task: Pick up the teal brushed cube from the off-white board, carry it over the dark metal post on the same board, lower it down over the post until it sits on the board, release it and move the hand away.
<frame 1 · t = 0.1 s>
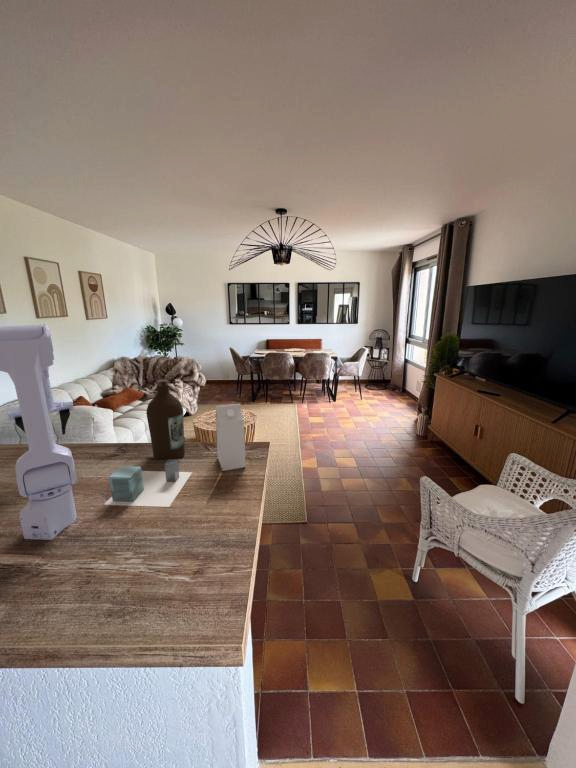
hand: (47, 435, 94), 11 cm above the breakfast bar, tool pointing down, fingers open, 7 cm apart
base board: (152, 491, 85), on the breakfast bar
olive oil: (169, 457, 105), on the breakfast bar
metal post: (173, 483, 89), resting on base board
milk carton: (231, 464, 99), on the breakfast bar
teal brushed cube: (128, 495, 81), point 1 cm above the breakfast bar, touching base board
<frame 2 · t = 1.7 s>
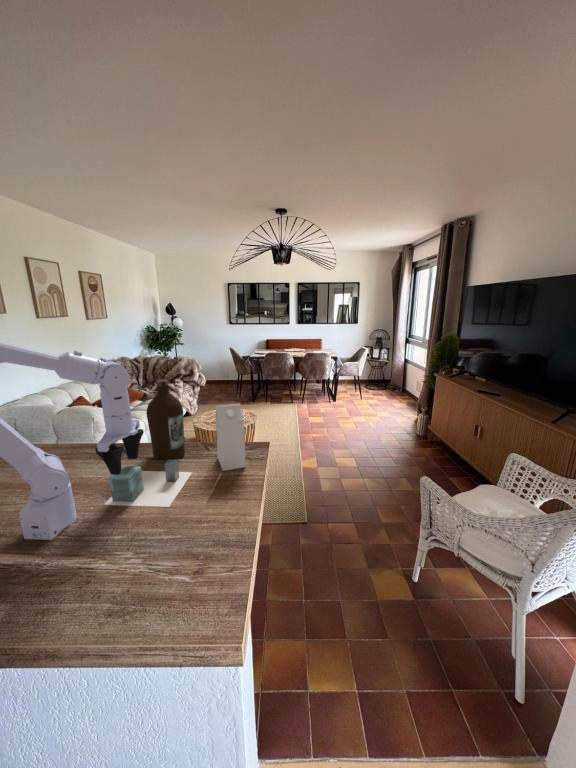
hand: (124, 465, 79), 9 cm above the breakfast bar, tool pointing down, fingers open, 7 cm apart
nothing on the breakfast bar moved.
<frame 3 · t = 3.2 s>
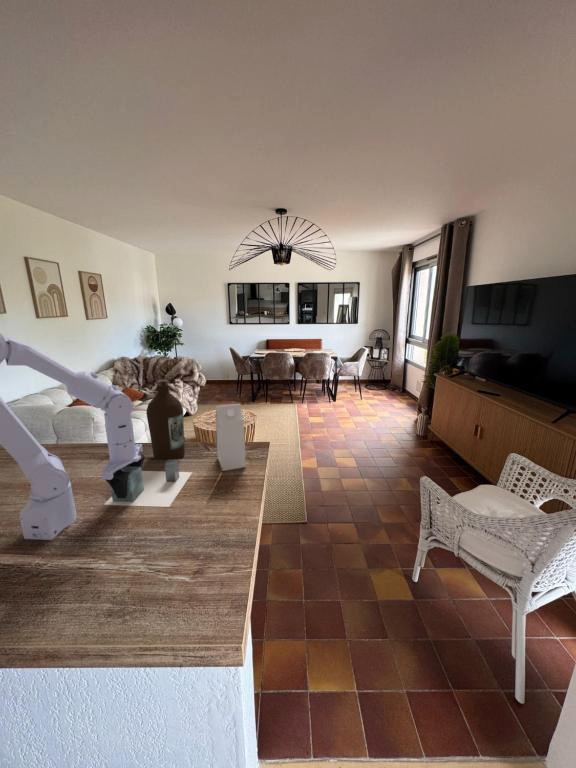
hand: (128, 490, 81), 3 cm above the breakfast bar, tool pointing down, fingers closed on teal brushed cube, 5 cm apart
teal brushed cube: (128, 495, 81), point 1 cm above the breakfast bar, touching base board, gripper
everything else where it was.
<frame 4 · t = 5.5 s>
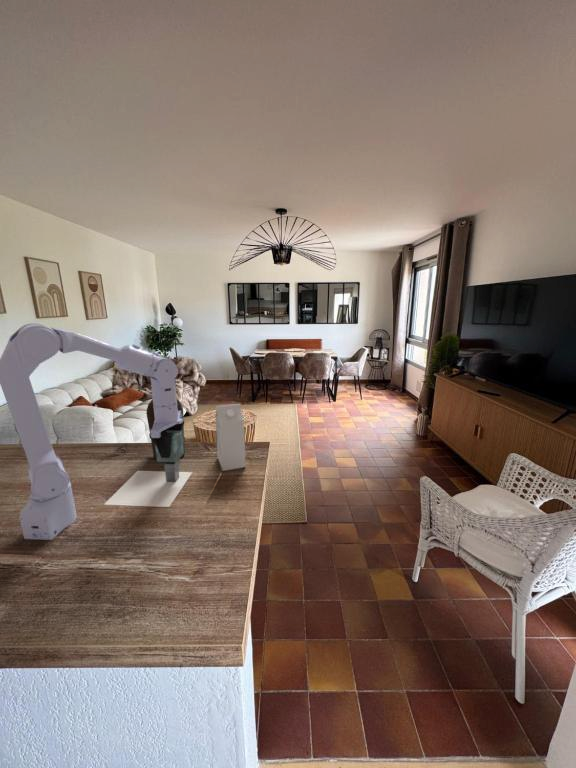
hand: (170, 452, 87), 9 cm above the breakfast bar, tool pointing down, fingers closed on teal brushed cube, 5 cm apart
teal brushed cube: (170, 457, 87), point 8 cm above the breakfast bar, touching gripper
everything else where it was.
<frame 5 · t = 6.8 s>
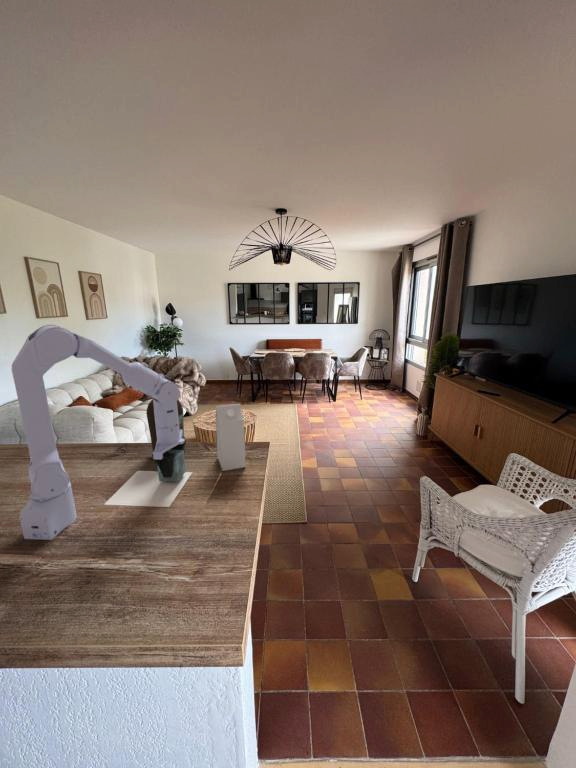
hand: (172, 471, 88), 4 cm above the breakfast bar, tool pointing down, fingers closed on teal brushed cube, 5 cm apart
teal brushed cube: (172, 476, 89), point 2 cm above the breakfast bar, touching gripper
everything else where it was.
when the fingers open (4 cm above the breakfast bar, at t = 7.7 s): teal brushed cube stays where it is, resting on base board.
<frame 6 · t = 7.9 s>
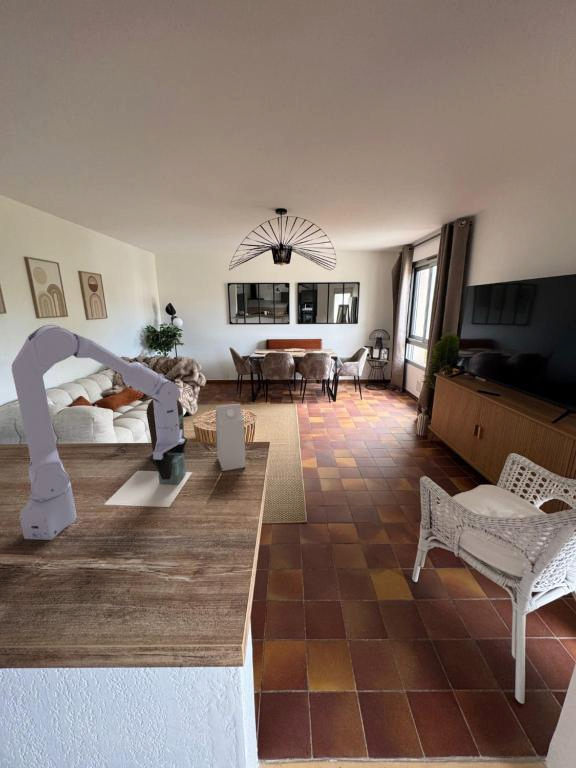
hand: (172, 471, 88), 4 cm above the breakfast bar, tool pointing down, fingers open, 7 cm apart
teal brushed cube: (173, 479, 89), point 1 cm above the breakfast bar, touching base board
everything else where it was.
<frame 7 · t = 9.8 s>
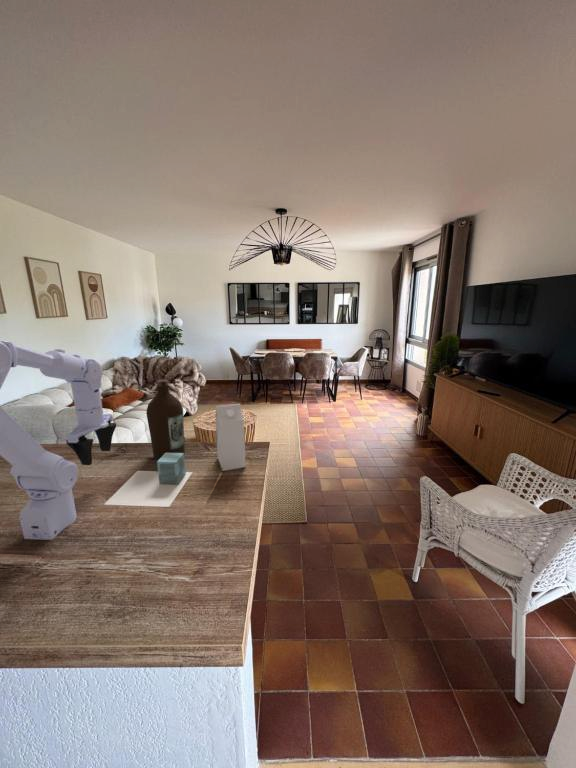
hand: (96, 457, 84), 9 cm above the breakfast bar, tool pointing down, fingers open, 7 cm apart
nothing on the breakfast bar moved.
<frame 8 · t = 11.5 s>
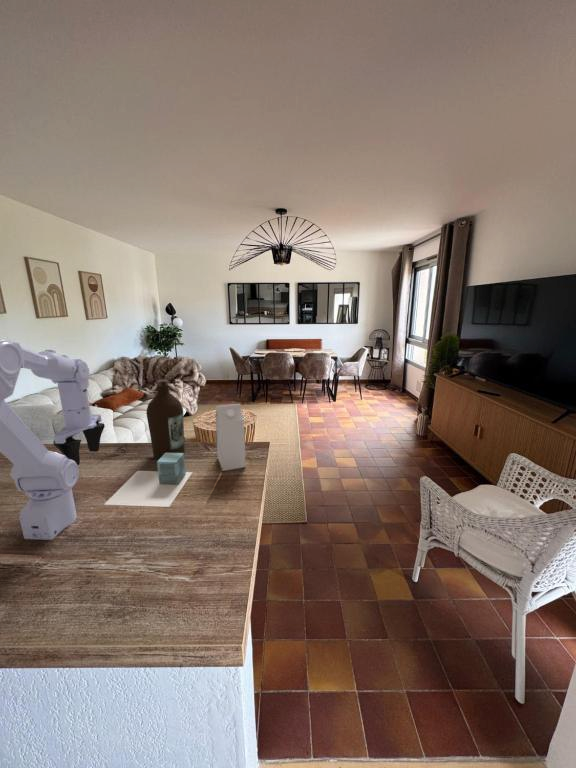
hand: (84, 457, 84), 9 cm above the breakfast bar, tool pointing down, fingers open, 7 cm apart
nothing on the breakfast bar moved.
at the end: teal brushed cube 0.0 cm from the metal post (horizontally); teal brushed cube point 1.2 cm above the breakfast bar; the gripper is holding nothing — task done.
